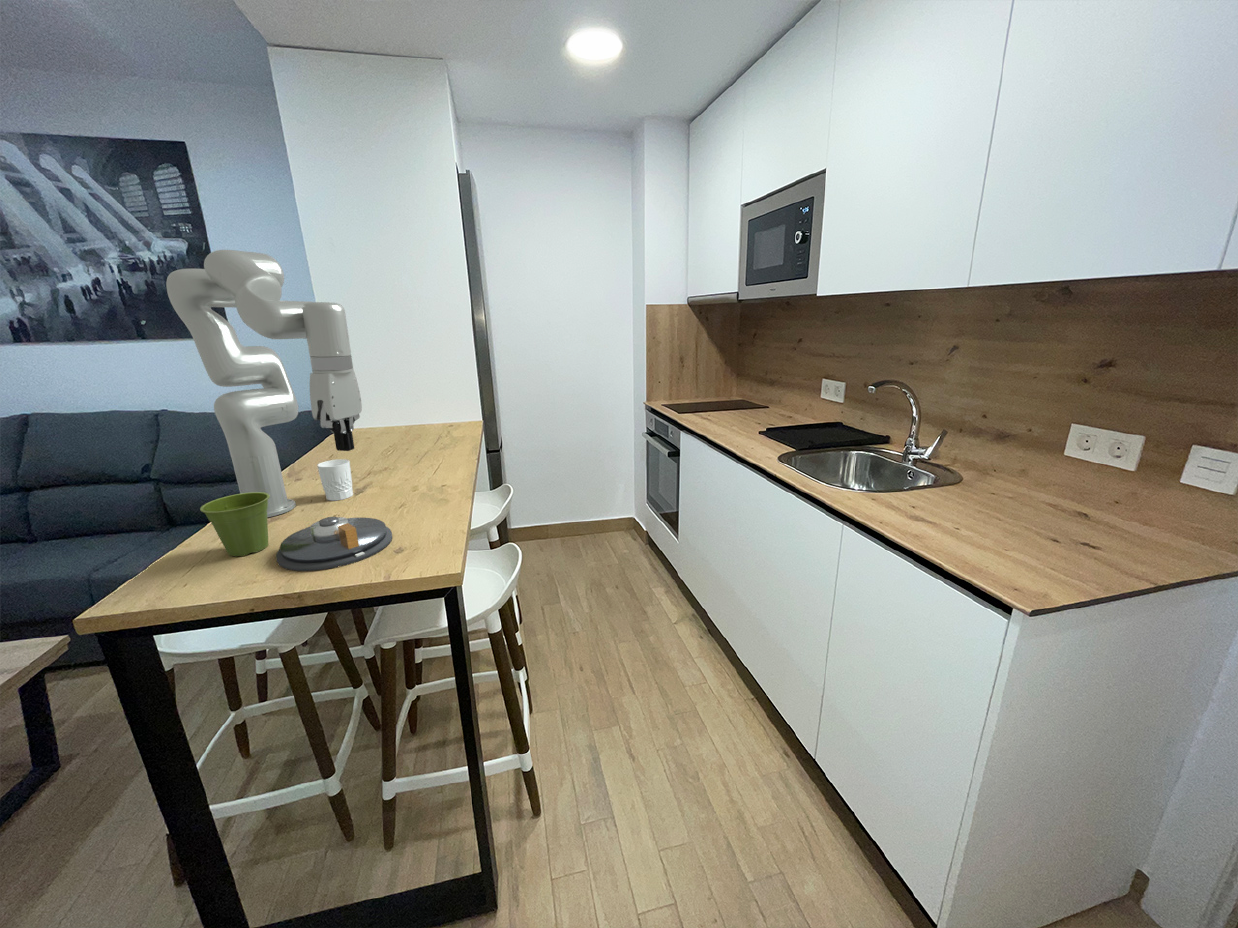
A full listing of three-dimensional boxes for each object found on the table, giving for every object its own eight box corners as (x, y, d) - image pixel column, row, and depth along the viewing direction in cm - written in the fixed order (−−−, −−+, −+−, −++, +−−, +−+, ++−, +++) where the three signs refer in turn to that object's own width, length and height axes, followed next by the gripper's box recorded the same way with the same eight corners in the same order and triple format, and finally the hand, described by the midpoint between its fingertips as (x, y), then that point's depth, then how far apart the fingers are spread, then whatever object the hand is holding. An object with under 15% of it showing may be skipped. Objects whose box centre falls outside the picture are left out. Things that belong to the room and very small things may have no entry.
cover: (308, 537, 106) (304, 521, 105) (342, 527, 111) (339, 511, 110) (320, 546, 101) (316, 529, 100) (355, 535, 106) (352, 518, 105)
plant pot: (223, 544, 110) (210, 497, 107) (285, 534, 114) (275, 489, 111) (204, 567, 100) (190, 515, 96) (274, 555, 104) (262, 505, 101)
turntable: (268, 544, 106) (263, 520, 105) (364, 516, 121) (360, 495, 119) (300, 572, 93) (294, 546, 92) (402, 538, 108) (399, 514, 106)
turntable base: (249, 568, 98) (248, 562, 98) (326, 525, 119) (325, 520, 119) (351, 573, 95) (350, 567, 95) (411, 528, 116) (410, 523, 116)
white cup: (361, 492, 143) (355, 459, 140) (344, 501, 136) (337, 467, 133) (335, 492, 144) (329, 459, 141) (317, 501, 136) (310, 466, 134)
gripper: (340, 361, 110) (352, 440, 115) (287, 367, 96) (304, 458, 101) (371, 362, 109) (382, 442, 114) (322, 368, 95) (337, 460, 100)
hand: (345, 449), depth 108 cm, fingers closed
